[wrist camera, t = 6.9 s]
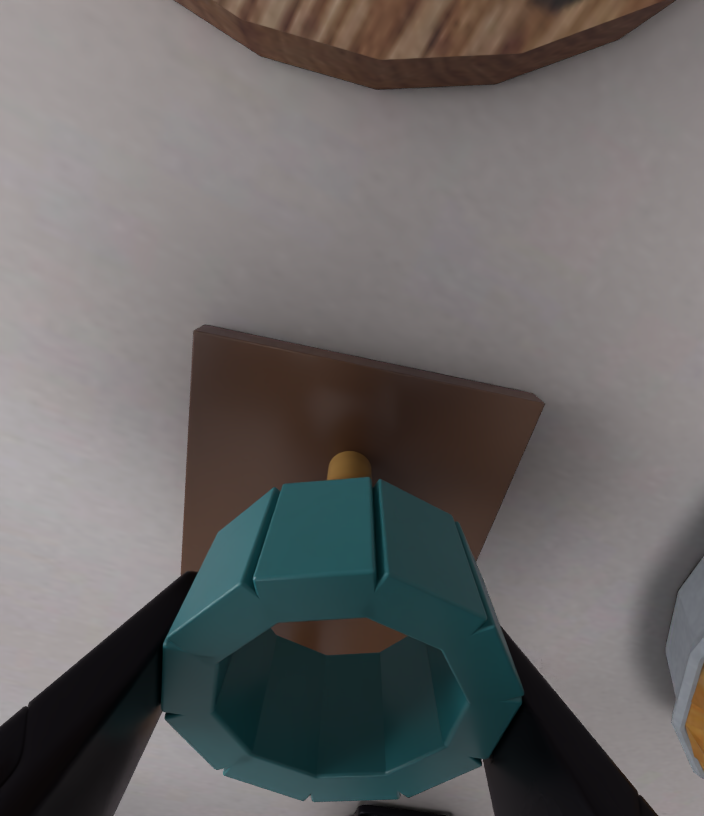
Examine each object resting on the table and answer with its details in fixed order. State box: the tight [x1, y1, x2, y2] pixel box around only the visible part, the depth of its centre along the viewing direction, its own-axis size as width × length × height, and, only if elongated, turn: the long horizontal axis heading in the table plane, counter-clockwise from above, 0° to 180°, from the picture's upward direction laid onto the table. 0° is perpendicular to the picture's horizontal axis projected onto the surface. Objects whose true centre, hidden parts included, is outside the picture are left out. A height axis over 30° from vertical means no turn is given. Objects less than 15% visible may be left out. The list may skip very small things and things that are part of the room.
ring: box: [161, 477, 524, 802], centre depth 8 cm, size 6×7×3 cm
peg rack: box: [181, 325, 545, 655], centre depth 16 cm, size 12×20×5 cm, turn 168°
